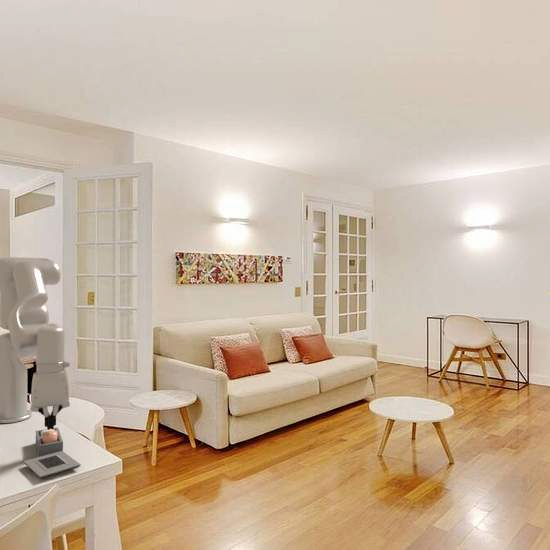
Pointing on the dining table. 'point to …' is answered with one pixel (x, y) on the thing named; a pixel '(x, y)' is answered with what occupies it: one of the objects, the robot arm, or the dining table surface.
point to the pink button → (50, 436)
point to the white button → (45, 431)
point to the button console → (48, 444)
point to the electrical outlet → (52, 464)
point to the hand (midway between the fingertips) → (50, 428)
